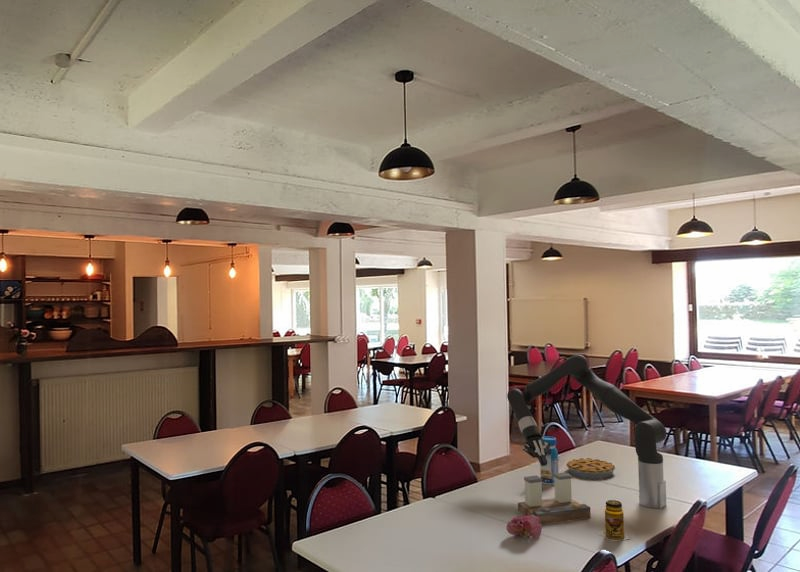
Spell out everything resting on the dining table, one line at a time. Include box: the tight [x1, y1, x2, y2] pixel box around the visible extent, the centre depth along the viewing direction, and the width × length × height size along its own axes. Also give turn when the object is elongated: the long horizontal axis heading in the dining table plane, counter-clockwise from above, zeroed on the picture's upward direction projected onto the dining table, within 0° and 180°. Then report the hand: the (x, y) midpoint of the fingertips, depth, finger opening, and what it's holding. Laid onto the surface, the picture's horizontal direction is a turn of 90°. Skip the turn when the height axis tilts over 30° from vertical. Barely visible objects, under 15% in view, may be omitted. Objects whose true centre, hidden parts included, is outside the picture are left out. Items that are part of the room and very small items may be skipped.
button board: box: [517, 497, 591, 526], centre depth 223 cm, size 16×22×5 cm
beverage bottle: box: [539, 436, 560, 486], centre depth 262 cm, size 8×8×20 cm
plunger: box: [523, 475, 543, 507], centre depth 224 cm, size 4×5×10 cm
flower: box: [506, 515, 543, 541], centre depth 200 cm, size 11×10×10 cm
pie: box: [566, 457, 616, 480], centre depth 275 cm, size 22×22×5 cm
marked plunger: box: [554, 471, 573, 503], centre depth 228 cm, size 4×5×10 cm
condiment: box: [597, 499, 631, 543], centre depth 201 cm, size 7×8×12 cm
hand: (544, 465), depth 240 cm, fingers closed
